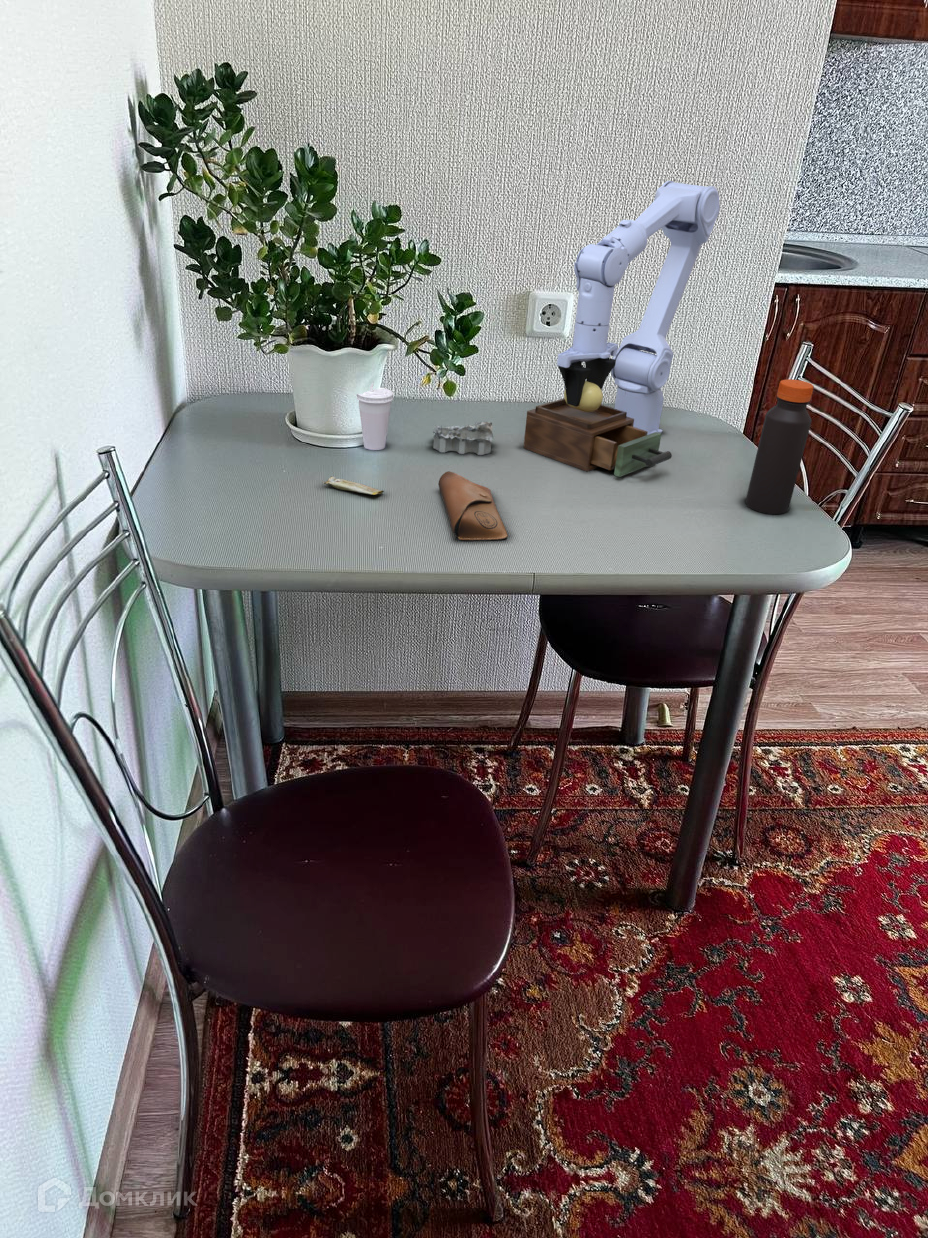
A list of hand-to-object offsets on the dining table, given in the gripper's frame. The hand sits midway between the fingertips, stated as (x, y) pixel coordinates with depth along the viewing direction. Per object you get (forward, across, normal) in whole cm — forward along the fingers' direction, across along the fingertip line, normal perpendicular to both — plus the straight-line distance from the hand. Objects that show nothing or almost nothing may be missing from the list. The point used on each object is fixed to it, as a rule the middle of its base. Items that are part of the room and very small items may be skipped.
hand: (582, 402), depth 157 cm
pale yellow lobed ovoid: (+1, 0, 0) cm, 1 cm away
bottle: (+9, +5, -35) cm, 37 cm away
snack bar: (+9, -43, +11) cm, 45 cm away
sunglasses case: (+9, -35, -7) cm, 37 cm away
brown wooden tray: (+2, 0, 0) cm, 2 cm away
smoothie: (+9, -27, +24) cm, 37 cm away
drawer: (+8, 0, -9) cm, 12 cm away
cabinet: (+9, 0, 0) cm, 9 cm away
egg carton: (+9, -15, +14) cm, 23 cm away
